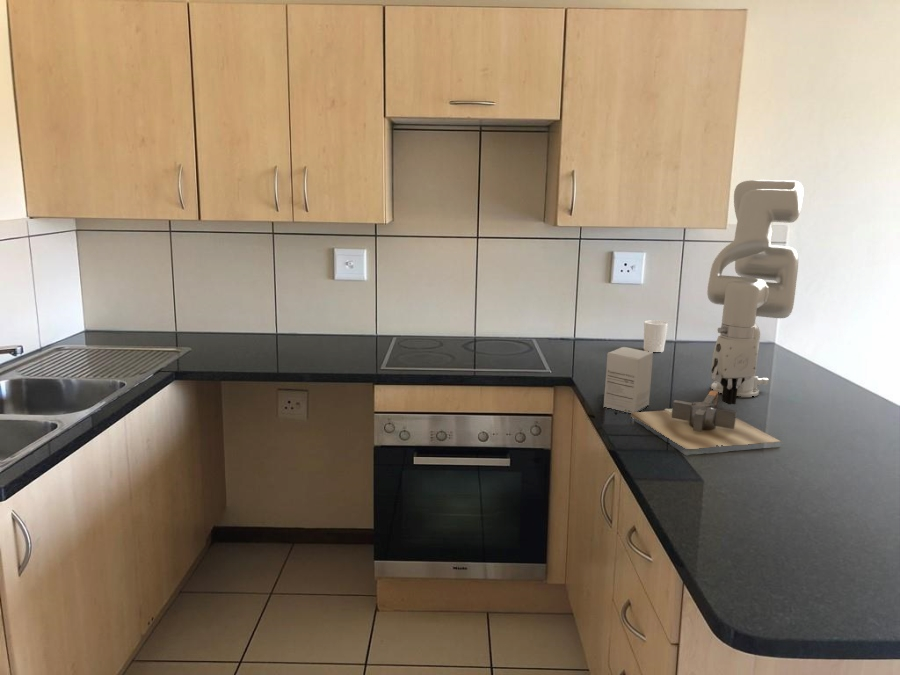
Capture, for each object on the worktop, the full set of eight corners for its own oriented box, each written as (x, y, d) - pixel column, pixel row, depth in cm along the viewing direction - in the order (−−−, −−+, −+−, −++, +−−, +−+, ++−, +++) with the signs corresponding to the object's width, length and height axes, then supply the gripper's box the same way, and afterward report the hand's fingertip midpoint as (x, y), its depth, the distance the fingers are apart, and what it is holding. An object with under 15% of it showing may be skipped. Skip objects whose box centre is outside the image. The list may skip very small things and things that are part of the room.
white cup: (637, 348, 243) (639, 321, 241) (654, 347, 246) (657, 319, 244) (652, 354, 236) (654, 325, 234) (670, 352, 239) (673, 324, 237)
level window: (686, 409, 175) (686, 407, 175) (692, 413, 172) (692, 410, 172) (664, 411, 173) (664, 408, 173) (670, 414, 171) (670, 412, 171)
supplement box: (617, 399, 187) (622, 345, 183) (649, 407, 181) (654, 351, 178) (602, 407, 180) (606, 352, 176) (634, 415, 174) (639, 358, 171)
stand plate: (714, 412, 178) (715, 406, 178) (779, 447, 155) (781, 440, 155) (630, 418, 172) (631, 411, 172) (685, 455, 149) (686, 448, 149)
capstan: (684, 404, 179) (685, 386, 177) (742, 414, 172) (744, 395, 171) (665, 428, 161) (667, 408, 160) (729, 440, 154) (731, 420, 153)
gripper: (720, 336, 164) (711, 409, 169) (773, 333, 168) (763, 405, 172) (701, 329, 172) (693, 399, 176) (752, 327, 175) (744, 396, 179)
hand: (728, 402), depth 174 cm, fingers closed
